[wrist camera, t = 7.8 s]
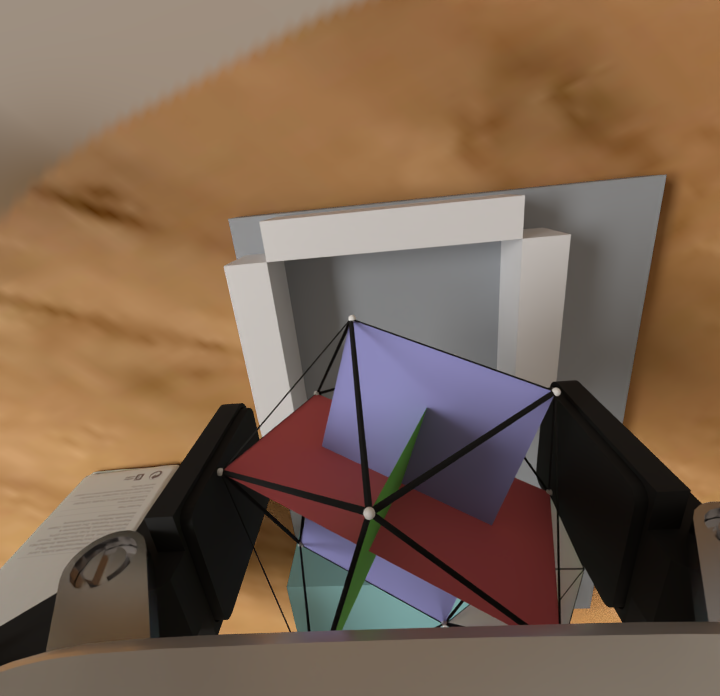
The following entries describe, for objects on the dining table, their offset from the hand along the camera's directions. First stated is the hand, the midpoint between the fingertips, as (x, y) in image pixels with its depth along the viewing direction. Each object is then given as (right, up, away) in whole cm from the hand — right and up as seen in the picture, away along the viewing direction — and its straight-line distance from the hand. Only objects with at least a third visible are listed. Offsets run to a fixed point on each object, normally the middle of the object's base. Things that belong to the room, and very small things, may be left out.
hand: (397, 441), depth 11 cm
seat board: (+3, -2, +10) cm, 11 cm away
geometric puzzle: (0, +1, +2) cm, 2 cm away
